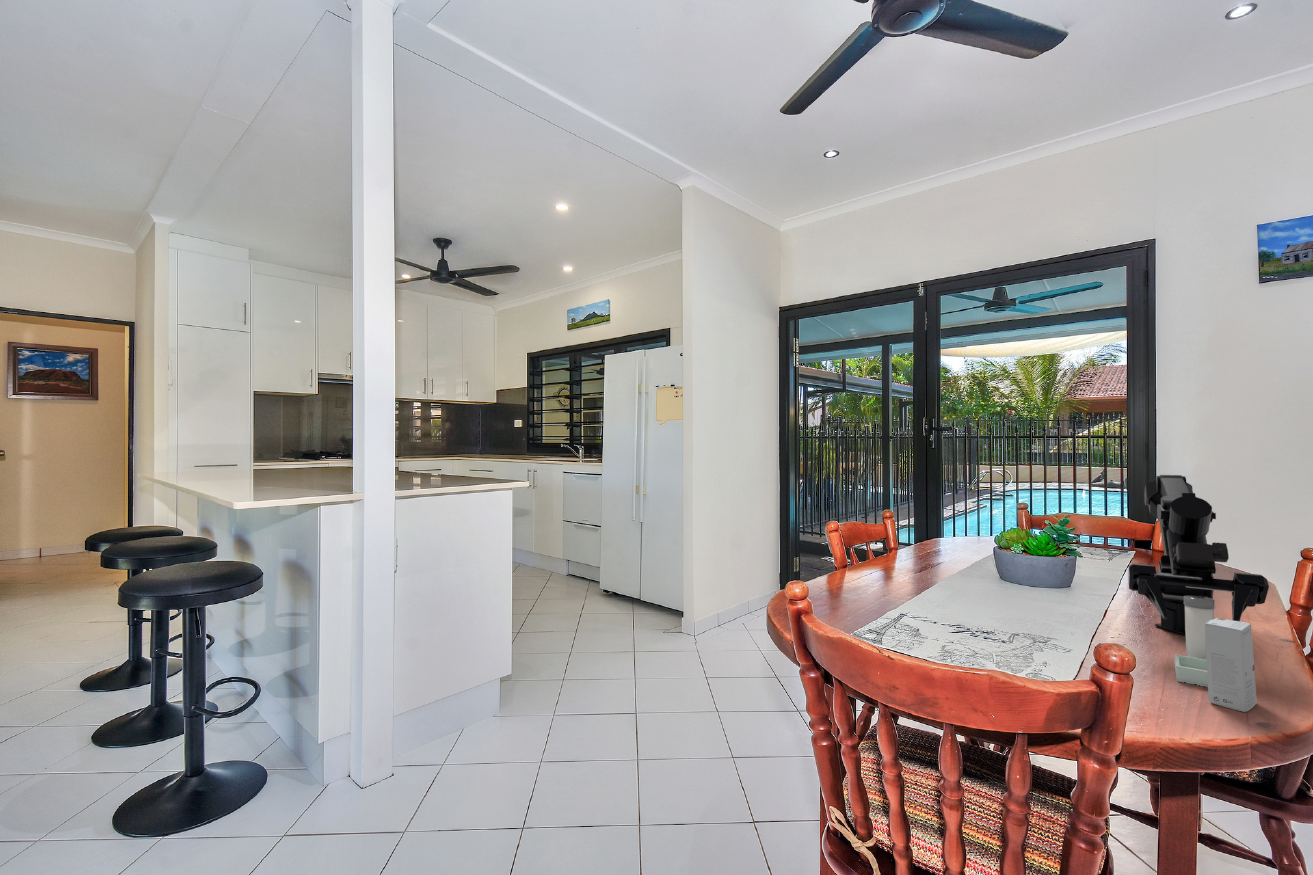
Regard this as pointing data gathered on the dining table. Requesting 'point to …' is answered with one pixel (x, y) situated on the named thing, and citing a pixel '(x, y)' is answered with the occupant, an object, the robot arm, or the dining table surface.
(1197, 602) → the cylinder
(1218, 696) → the skincare box
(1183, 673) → the tray
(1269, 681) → the dining table surface
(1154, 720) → the dining table surface
